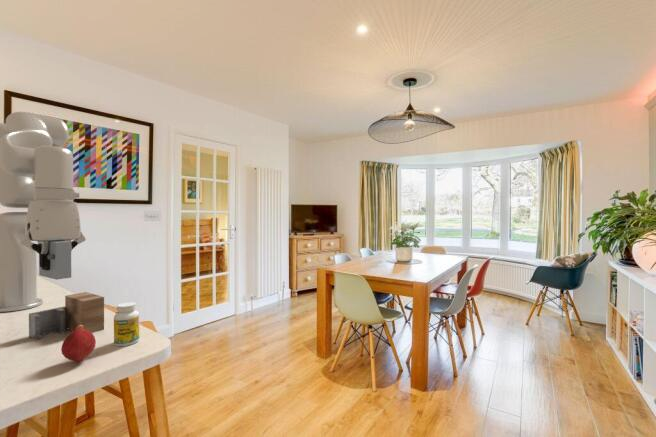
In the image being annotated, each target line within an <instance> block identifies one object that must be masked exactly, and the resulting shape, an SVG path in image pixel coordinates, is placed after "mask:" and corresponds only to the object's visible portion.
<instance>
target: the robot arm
mask: <svg viewBox="0 0 656 437" xmlns="http://www.w3.org/2000/svg"><path fill="white" fill-rule="evenodd" d="M69 135H70V131H69V128H68V125H67V124H66V122H64V120H62V119H60V118H58V117H53V116H50V115H49V116H48V115H42V114H39V113H33V112H27V111H15V112H11V113H10V114H9V115H7V117H6V118H5V122H4V123H2V122H0V205H1V206H2V207H5V208H12V209H27V211H9V212H2V213H0V313H5V312H15V311H22V310H28V309H32V308H36V307H38V306H41V305H42V304H43V301H44V300H43V299H42V298H39V297H37V296H38V295H37V293H38V292H37V291H38V290H37V254H38V267H39V266H40V267H42V270H50V259H48V255H49V254H48V244H49V241H70V242H71V252H72V251H73V250H74V249H75V247H77V246H78V245H80V244H82V243H84V242H85V241H86V240H87V239H86V237H85V236H84V234H83V233H82V228H81V218H80V212H79V208H78V204H77V202H76V201H75V199H79V198H80V193H79V192H75V190H74V154H73V152H72V150H71V149H69V148H65V147H64V146H65V145H66V143H68V140H69ZM34 242H37V243H34Z"/></svg>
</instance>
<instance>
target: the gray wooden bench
mask: <svg viewBox="0 0 656 437" xmlns="http://www.w3.org/2000/svg"><path fill="white" fill-rule="evenodd" d="M66 330H68V329H67V307H65V306H60V307H53V308H51V309H45V310H41V311H35V312H32V313H28V337H29V338H31V339H32V340H35V341H37V340H40V339H41V336H42V335H45V334H49V333H53V332H57V333H59V334H63V333H66Z"/></svg>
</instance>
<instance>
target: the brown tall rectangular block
mask: <svg viewBox="0 0 656 437" xmlns="http://www.w3.org/2000/svg"><path fill="white" fill-rule="evenodd" d="M64 296H65V299H64V301H65V303H64V304H65V307H67V329H66V330H69V331H71V332H72V331H74V330H75V329H76V328H77V327H78V326H79V325H83V329H85V330H87V331H89V332H91V333H92V334H94V333H96V332H100V331H103V330H105V296H102V295H100V294H99V295H98V294H94V293H92V292H87V291H85V292H79V293H74V294H73V293H72V294H68V295H64Z"/></svg>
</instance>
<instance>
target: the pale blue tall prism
mask: <svg viewBox="0 0 656 437" xmlns="http://www.w3.org/2000/svg"><path fill="white" fill-rule="evenodd" d="M48 254H49V255H48V259H50V270H42V267H40V266H39V265H38V272H39V273H38V276H39V277H44V278H49V279H53V280H63V279H71V278H72V251H71V242H70V241H49V244H48Z"/></svg>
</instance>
